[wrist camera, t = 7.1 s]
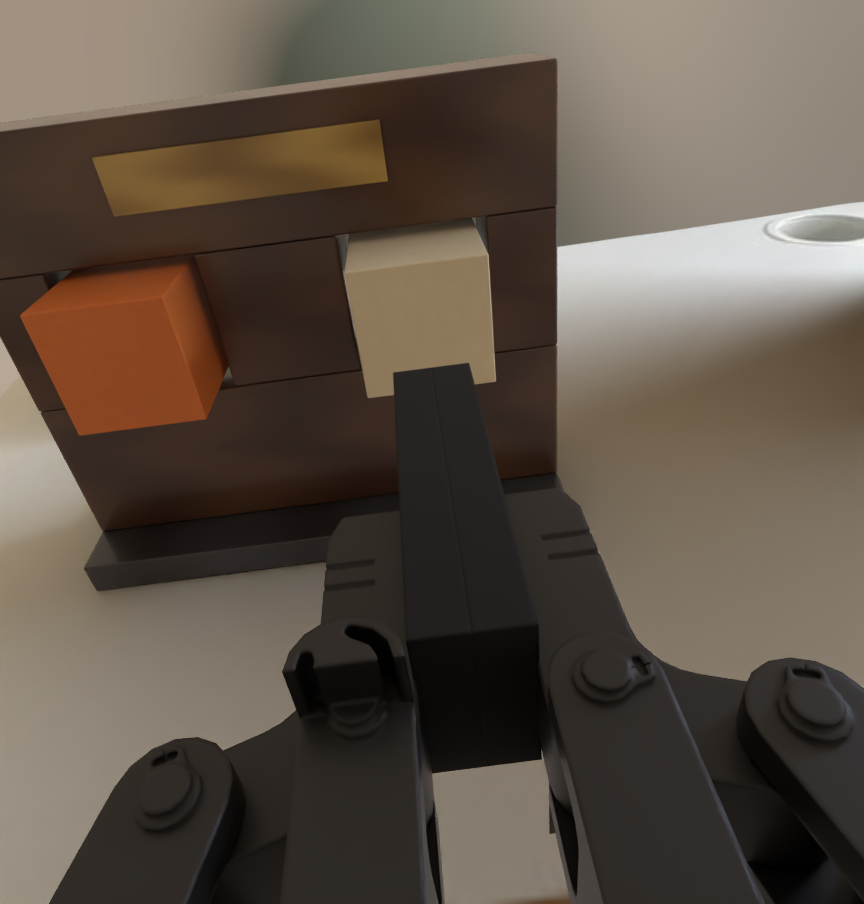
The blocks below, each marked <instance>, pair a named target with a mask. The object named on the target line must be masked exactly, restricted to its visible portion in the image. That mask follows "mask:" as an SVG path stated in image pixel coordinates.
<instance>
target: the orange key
mask: <svg viewBox="0 0 864 904" xmlns="http://www.w3.org/2000/svg"><path fill="white" fill-rule="evenodd" d="M20 317H21V319H22V321H23V323H24V325H25V327H26V329H27V331H28V333H29V335H30V337H31V339H32V341H33V343H34V345H35V347H36V350H37V352H38V354H39V356H40V358H41V360H42V362H43V364H44V366H45V368H46V370H47V372H48V374H49V376H50V378H51V380H52V382H53V384H54V386H55V388H56V390H57V392H58V394H59V396H60V398H61V400H62V402H63V404H64V406H65V408H66V410H67V412H68V414H69V416H70V418H71V420H72V422H73V424H74V426H75V428H76V430H77V432H78V434H79V435H80V436H81V435H89V434H97V433H104V432H112V431H120V430H127V429H135V428H143V427H151V426H158V425H166V424H174V423H181V422H189V421H197V420H204V419H207V417H208V414H209V412H210V410H211V407H212V405H213V402H214V400H215V398H216V395H217V393H218V390H219V388H220V386H221V383H222V381H223V378H224V376H225V374H226V371H227V369H228V366H229V365H228V362H227V359H226V356H225V353H224V350H223V346H222V343H221V340H220V337H219V334H218V331H217V328H216V324H215V321H214V318H213V315H212V312H211V309H210V306H209V302H208V299H207V296H206V293H205V290H204V287H203V284H202V281H201V277H200V274H199V271H198V268H197V265H196V262H195V259H194V254H191V255H183V256H175V257H168V258H160V259H152V260H145V261H137V262H129V263H122V264H114V265H107V266H99V267H91V268H84V269H76V270H72V271H71V272H70V273H69V274H68V275H67V276H65V277H64V278H63V279H62V280H61V281H59V282H58V283H57V284H56V285H55V286H54V287H52V288H51V289H50V290H49V291H48V292H47V293H45V294H44V295H43V296H42V297H41V298H40V299H38V300H37V301H36V302H35V303H34V304H33V305H31V306H30V307H29V308H28V309H27V310H26V311H24V312H23V313H22V314H21V315H20Z"/></svg>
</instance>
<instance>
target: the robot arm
mask: <svg viewBox="0 0 864 904" xmlns="http://www.w3.org/2000/svg"><path fill="white" fill-rule="evenodd" d="M393 384H394V405H395V426H396V447H397V467H398V488H399V509H400V510H396V511H388V512H380V513H372V514H365V515H357V516H349V517H343V518H342V520H341V521H340V523H339V524H338V526H337V527H336V529H335V531H334V532H333V534H332V535H331V537H330V539H329V540H328V549H327V560H326V568H327V570H326V572H325V583H324V588H325V591H324V594H323V605H322V616H321V625H319V626H317V627H316V628H314V629H313V630H311V631H310V632H308V633H306V634H305V635H304V636H303V637H302V638H301V639H300V640H299V641H298V643H297V644H296V645H295V646H294V647H293V648H292V650H291V651H290V652H289V655H288V657H287V660H286V663H285V666H284V668H283V671H282V673H283V675H284V678H285V681H286V683H287V686H288V689H289V691H290V694H291V697H292V699H293V702H294V705H295V707H296V711H295V712H294V713H293V714H291V715H290V716H289V717H288V718H287V719H285V720H284V721H283V722H282V723H280V724H279V725H277V726H275V727H273V728H272V729H270V730H268V731H266V732H264V733H262V734H260V735H258V736H255V737H253V738H251V739H248V740H246V741H244V742H242V743H239V744H237V745H235V746H233V747H230V748H228V749H226V750H224V751H222V749H221V748H220V747H219V746H218V745H217V744H216V743H213V742H210V741H207V740H204V739H201V738H199V737H195V738H184V739H175V740H173V741H170V742H168V743H166V744H163V745H161V746H159V747H156V748H154V749H152V750H151V751H149V752H148V753H147V754H146V755H144V756H143V757H142V758H140V759H139V760H138V761H137V762H135V763H134V764H133V765H132V766H130V768H129V769H128V770H127V772H126V773H125V774H124V776H123V777H122V778H121V780H120V781H119V782H118V783H117V785H116V786H115V787H114V789H113V791H112V792H111V794H110V796H109V798H108V799H107V801H106V803H105V805H104V807H103V808H102V810H101V812H100V814H99V815H98V817H97V819H96V821H95V823H94V824H93V826H92V828H91V830H90V831H89V833H88V835H87V837H86V839H85V840H84V842H83V844H82V846H81V847H80V849H79V851H78V853H77V855H76V856H75V858H74V860H73V862H72V863H71V865H70V867H69V869H68V870H67V872H66V874H65V876H64V878H63V879H62V881H61V883H60V885H59V886H58V888H57V890H56V892H55V894H54V895H53V897H52V899H51V901H50V902H49V904H445V901H444V889H443V876H442V864H441V851H440V839H439V826H438V817H437V812H436V807H435V802H434V794H433V781H432V773H439V772H446V771H454V770H462V769H470V768H477V767H485V766H493V765H501V764H509V763H516V762H524V761H532V760H540V759H542V755H541V748H542V752H543V757H544V761H545V766H546V770H547V774H548V779H549V824H550V834H552V833H556V837H557V841H558V846H559V851H560V855H561V860H562V865H563V869H564V874H565V878H566V883H567V888H568V892H569V897H570V902H571V904H864V688H862V687H861V686H860V685H858V684H857V683H856V682H854V681H853V680H852V679H850V678H849V677H847V676H846V675H845V674H843V673H842V672H840V671H838V670H835V669H833V668H830V667H828V666H826V665H823V664H821V663H818V662H816V661H810V660H803V659H796V658H785V659H779V660H773V661H768V662H766V663H765V664H763V665H762V666H760V667H759V668H757V669H756V670H754V671H753V672H752V673H751V675H750V677H749V679H748V681H747V682H746V681H740V680H734V679H727V678H721V677H714V676H708V675H702V674H697V673H693V672H689V671H685V670H681V669H678V668H676V667H674V666H672V665H669V664H667V663H665V662H663V661H661V660H660V659H659V658H657V657H656V656H654V655H653V654H652V652H650V651H649V650H647V649H646V648H645V647H644V646H643V645H642V644H641V643H640V642H639V641H638V640H637V639H636V637H635V635H634V633H633V632H632V630H631V628H630V626H629V624H628V621H627V619H626V617H625V614H624V612H623V609H622V607H621V604H620V602H619V600H618V597H617V595H616V592H615V590H614V588H613V585H612V583H611V580H610V578H609V575H608V573H607V571H606V568H605V566H604V563H603V561H602V558H601V556H600V554H598V550H597V546H596V544H595V542H594V539H593V537H592V534H590V531H589V527H588V525H587V522H586V520H585V517H584V515H583V513H582V510H581V508H580V506H579V505H578V504H577V503H576V502H575V501H574V500H572V499H571V498H570V497H569V496H568V495H567V494H566V493H565V492H563V491H562V490H561V489H560V488H559V487H558V488H550V489H542V490H535V491H527V492H519V493H511V494H504V492H503V488H502V484H501V481H500V477H499V473H498V469H497V466H496V462H495V458H494V454H493V451H492V447H491V443H490V439H489V436H488V432H487V428H486V424H485V421H484V417H483V413H482V409H481V406H480V402H479V398H478V394H477V391H476V387H475V383H474V379H473V376H472V372H471V368H470V364H469V363H462V364H455V365H447V366H439V367H431V368H424V369H416V370H408V371H400V372H393Z"/></svg>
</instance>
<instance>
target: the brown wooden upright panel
mask: <svg viewBox="0 0 864 904" xmlns="http://www.w3.org/2000/svg"><path fill="white" fill-rule="evenodd" d="M556 206H557V59H556V58H552V57H549V56H545V55H541V54H537V53H526V54H519V55H512V56H504V57H496V58H488V59H481V60H473V61H466V62H458V63H450V64H443V65H436V66H428V67H420V68H412V69H405V70H397V71H391V72H382V73H375V74H368V75H359V76H352V77H345V78H337V79H329V80H321V81H314V82H306V83H299V84H291V85H284V86H276V87H268V88H261V89H253V90H246V91H238V92H230V93H223V94H216V95H208V96H201V97H193V98H185V99H177V100H170V101H162V102H156V103H147V104H139V105H132V106H124V107H117V108H109V109H101V110H94V111H86V112H79V113H71V114H63V115H56V116H48V117H41V118H33V119H26V120H18V121H11V122H3V123H0V337H1V339H2V341H3V343H4V345H5V347H6V349H7V351H8V353H9V355H10V356H11V358H12V360H13V362H14V364H15V366H16V368H17V370H18V372H19V374H20V376H21V377H22V379H23V381H24V383H25V385H26V387H27V389H28V391H29V393H30V395H31V396H32V398H33V400H34V402H35V404H36V406H37V408H38V410H39V411H42V412H41V415H42V417H43V419H44V421H45V423H46V425H47V426H48V428H49V430H50V432H51V434H52V436H53V438H54V440H55V442H56V444H57V445H58V447H59V449H60V451H61V453H62V455H63V457H64V459H65V461H66V463H67V465H68V466H69V468H70V470H71V472H72V474H73V476H74V478H75V480H76V482H77V484H78V485H79V487H80V489H81V491H82V493H83V495H84V497H85V499H86V501H87V503H88V505H89V506H90V508H91V510H92V512H93V514H94V516H95V518H96V520H97V522H98V524H99V525H100V527H101V529H102V530H103V533H102V535H101V537H100V539H99V540H98V542H97V544H96V546H95V548H94V550H93V552H92V554H91V556H90V558H89V560H88V561H87V563H86V565H85V567H84V570H85V571H86V573H87V575H88V577H89V578H90V580H91V582H92V584H93V585H94V587H95V589H96V590H104V589H111V588H119V587H127V586H135V585H142V584H150V583H158V582H166V581H173V580H181V579H189V578H197V577H204V576H212V575H220V574H228V573H235V572H243V571H251V570H259V569H266V568H274V567H282V566H290V565H297V564H305V563H313V562H321V561H326V560H327V549H328V540H329V539H330V537H331V535H332V534H333V532H334V531H335V529H336V527H337V526H338V524H339V523H340V521H341V520H342V518H343V517H349V516H357V515H365V514H372V513H380V512H388V511H396V510H400V509H399V488H398V467H397V447H396V426H395V405H394V395H390V396H382V397H374V398H368V397H367V392H366V387H365V381H364V376H363V371H362V365H361V360H360V355H359V350H358V344H357V339H356V334H355V328H354V323H353V318H352V313H351V307H350V302H349V297H348V292H347V286H346V281H345V276H344V271H345V263H346V255H347V247H346V241H345V235H344V234H351V233H359V232H366V231H374V230H381V229H389V228H397V227H404V226H412V225H420V224H427V223H435V222H443V221H450V220H458V219H466V218H473V217H476V229H477V231H478V233H479V235H480V237H481V240H482V242H483V244H484V246H485V248H486V251H487V253H488V255H489V271H490V287H491V304H492V321H493V337H494V354H495V371H496V381H495V382H490V383H482V384H475V387H476V391H477V394H478V398H479V402H480V406H481V409H482V413H483V417H484V421H485V424H486V428H487V432H488V436H489V439H490V443H491V447H492V451H493V454H494V458H495V462H496V466H497V469H498V473H499V477H500V481H501V484H502V488H503V492H504V494H511V493H519V492H527V491H535V490H542V489H550V488H558V487H559V488H560V489H561V490H562V491H563V492H564V490H563V487H562V485H561V482H560V480H559V477H558V474H557V345H556V344H557V207H556ZM191 254H194V259H195V262H196V265H197V268H198V271H199V274H200V277H201V281H202V284H203V287H204V290H205V293H206V296H207V299H208V302H209V306H210V309H211V312H212V315H213V318H214V321H215V324H216V328H217V331H218V334H219V337H220V340H221V343H222V346H223V350H224V353H225V356H226V359H227V362H228V365H229V366H228V369H227V371H226V374H225V376H224V378H223V381H222V383H221V386H220V388H219V390H218V393H217V395H216V398H215V400H214V402H213V405H212V407H211V410H210V412H209V414H208V417H207V419H204V420H197V421H189V422H181V423H174V424H166V425H158V426H151V427H143V428H135V429H127V430H120V431H112V432H104V433H97V434H89V435H81V436H80V435H79V434H78V432H77V430H76V428H75V426H74V424H73V422H72V420H71V418H70V416H69V414H68V412H67V410H66V408H65V406H64V404H63V402H62V400H61V398H60V396H59V394H58V392H57V390H56V388H55V386H54V384H53V382H52V380H51V378H50V376H49V374H48V372H47V370H46V368H45V366H44V364H43V362H42V360H41V358H40V356H39V354H38V352H37V350H36V347H35V345H34V343H33V341H32V339H31V337H30V335H29V333H28V331H27V329H26V327H25V325H24V323H23V321H22V319H21V317H20V315H21V314H22V313H23V312H24V311H26V310H27V309H28V308H29V307H30V306H31V305H33V304H34V303H35V302H36V301H37V300H38V299H40V298H41V297H42V296H43V295H44V294H45V293H47V292H48V291H49V290H50V289H51V288H52V287H54V286H55V285H56V284H57V283H58V282H59V281H61V280H62V279H63V278H64V277H65V276H67V275H68V274H69V273H70V272H71V271H72V270H76V269H84V268H91V267H99V266H107V265H114V264H122V263H129V262H137V261H145V260H152V259H160V258H168V257H175V256H183V255H191Z"/></svg>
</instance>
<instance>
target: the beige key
mask: <svg viewBox="0 0 864 904" xmlns="http://www.w3.org/2000/svg"><path fill="white" fill-rule="evenodd" d="M344 276H345V281H346V286H347V292H348V297H349V302H350V307H351V313H352V318H353V323H354V328H355V334H356V339H357V344H358V350H359V355H360V360H361V365H362V371H363V376H364V381H365V387H366V392H367V397H368V398H374V397H382V396H390V395H394V384H393V372H400V371H408V370H416V369H424V368H431V367H439V366H447V365H455V364H462V363H469V364H470V368H471V372H472V376H473V379H474V383H475V384H482V383H490V382H495V381H496V371H495V354H494V337H493V321H492V304H491V287H490V271H489V255H488V253H487V251H486V248H485V246H484V244H483V242H482V240H481V237H480V235H479V233H478V231H477V229H476V226H475V224H474V222H473V220H472V218H466V219H458V220H450V221H443V222H435V223H427V224H420V225H412V226H404V227H397V228H389V229H381V230H374V231H366V232H359V233H351V234H349V239H348V248H347V255H346V263H345V271H344Z"/></svg>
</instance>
